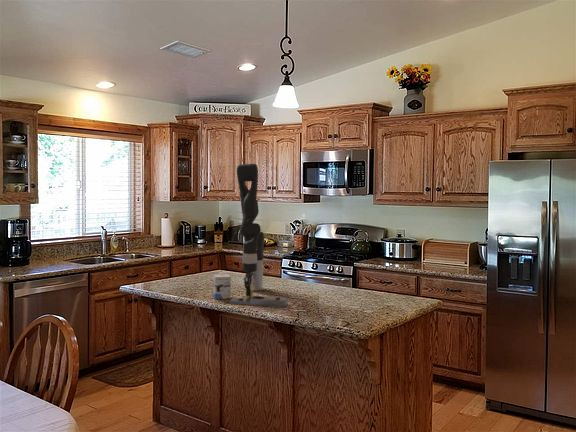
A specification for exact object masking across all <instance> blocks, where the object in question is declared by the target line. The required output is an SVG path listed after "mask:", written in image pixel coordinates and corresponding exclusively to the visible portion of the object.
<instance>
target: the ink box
mask: <svg viewBox="0 0 576 432" xmlns="http://www.w3.org/2000/svg"><path fill="white" fill-rule="evenodd" d="M231 282H232V277H231V275H229V274H214V275H213V290H212V291H213V292H212V293H213V299H214V300H222V299H223V300H225V299H227V298H229V299H231V295H232V294H231V293H232V292H231V289H232V287H231V285H232V283H231Z"/></svg>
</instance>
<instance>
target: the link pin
mask: <svg viewBox="0 0 576 432" xmlns="http://www.w3.org/2000/svg"><path fill="white" fill-rule="evenodd" d="M250 282H251V281H250ZM253 282H254V280H252V284H251V295H250V296H246V295H245V299H250V298H252V297H253V296H254V291H253ZM247 286H248V284H247Z"/></svg>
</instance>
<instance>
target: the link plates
mask: <svg viewBox="0 0 576 432" xmlns="http://www.w3.org/2000/svg"><path fill="white" fill-rule="evenodd" d="M288 300H289V298H288V297H280V296H262V295H261V296H259V295H253V297H252V298H250V299H246V297H245V298H243V297H233V298H232V299H230V300H229V304H230V305H243V306H256V307H257V306H258V307H272V308H286V307H287V306H288V302H289V301H288Z"/></svg>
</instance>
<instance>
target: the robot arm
mask: <svg viewBox="0 0 576 432" xmlns="http://www.w3.org/2000/svg"><path fill="white" fill-rule="evenodd" d="M236 176H237V183H238V188H239V197H240V206H241V213H242V221H241V223H240V228H239V233H240V235H241V237H243V238H244V242H243V245H242V265H241V266H242V267H241V268H242V271H243V272H245V275H244V277H243V282H244V288H245V297H246V296H250V295H251V284H252V280H254V282H253V292H254V291H255V292H256V291H262V290H264V289H263V287H264V286H263V283H264V278H263V277H264V250H265V249H264V248H265V247H264V246H265V245H264V244H265V235H264V232H262V228H261V225H260V224H259V223H256V222H255V223H254V221H255V220H256V219H257V217H258V215H259V212H260V211H259V202H258V199H257V195H258V186H259V185H258V180H259V170H258V165H257V164H256V163H243V164H238V165H237V166H236ZM247 182H251V185H250V188H248V186H247V185H246V183H247ZM250 281H251V282H250ZM247 284H248V286H247Z"/></svg>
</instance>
